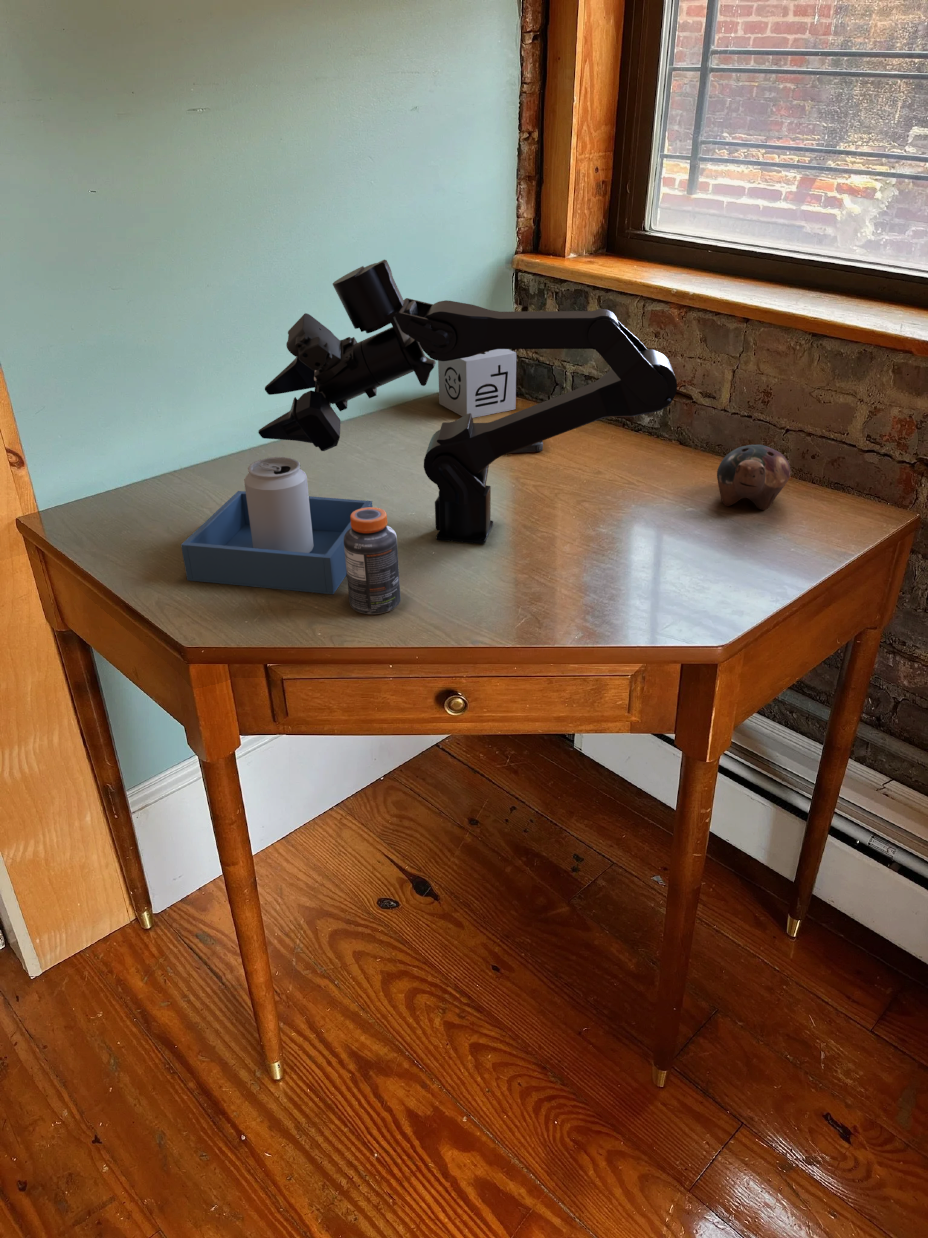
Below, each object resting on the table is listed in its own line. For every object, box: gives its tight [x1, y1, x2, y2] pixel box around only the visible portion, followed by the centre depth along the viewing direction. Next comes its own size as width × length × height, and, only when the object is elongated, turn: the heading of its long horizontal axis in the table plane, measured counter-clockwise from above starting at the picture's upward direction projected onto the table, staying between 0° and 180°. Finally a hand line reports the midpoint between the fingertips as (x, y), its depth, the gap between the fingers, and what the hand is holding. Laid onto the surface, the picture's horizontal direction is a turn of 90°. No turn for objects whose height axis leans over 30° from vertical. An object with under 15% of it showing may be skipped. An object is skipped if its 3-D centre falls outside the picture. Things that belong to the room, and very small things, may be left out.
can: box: [243, 456, 314, 553], centre depth 118 cm, size 8×8×12 cm
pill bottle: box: [344, 506, 402, 615], centre depth 107 cm, size 6×6×11 cm
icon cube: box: [437, 349, 517, 419], centre depth 169 cm, size 10×10×10 cm
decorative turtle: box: [716, 444, 791, 511], centre depth 132 cm, size 10×15×8 cm, turn 163°
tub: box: [180, 490, 373, 595], centre depth 120 cm, size 19×17×5 cm
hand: (263, 412), depth 120 cm, fingers open, 9 cm apart
